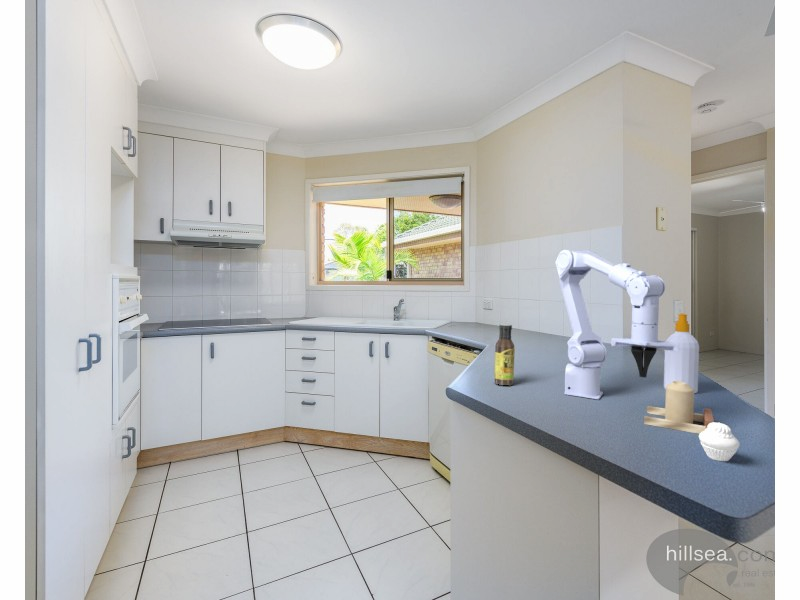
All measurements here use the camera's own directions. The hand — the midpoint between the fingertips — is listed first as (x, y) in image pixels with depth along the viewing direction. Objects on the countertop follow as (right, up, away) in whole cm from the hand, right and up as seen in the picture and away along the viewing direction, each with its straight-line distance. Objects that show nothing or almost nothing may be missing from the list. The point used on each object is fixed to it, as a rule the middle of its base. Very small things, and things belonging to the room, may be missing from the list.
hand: (643, 376), depth 100 cm
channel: (+5, -10, -6) cm, 13 cm away
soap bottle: (+26, -9, +23) cm, 35 cm away
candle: (+5, -10, -6) cm, 13 cm away
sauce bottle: (-27, -9, +30) cm, 42 cm away
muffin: (0, -11, -24) cm, 27 cm away
